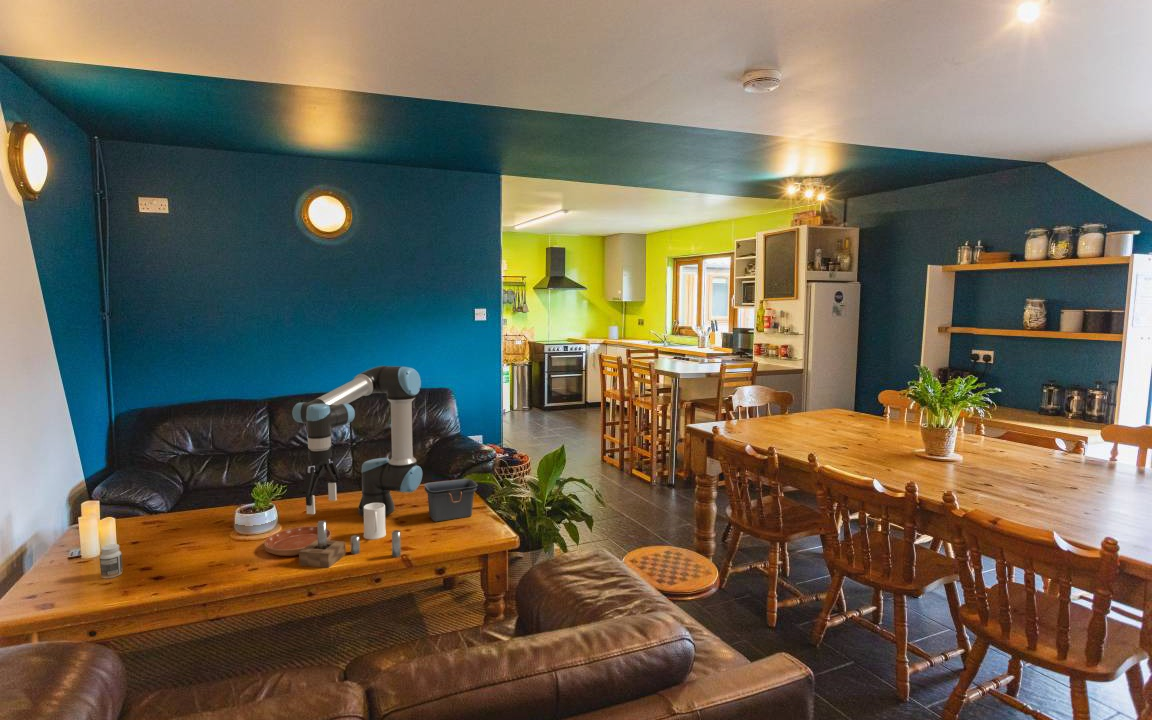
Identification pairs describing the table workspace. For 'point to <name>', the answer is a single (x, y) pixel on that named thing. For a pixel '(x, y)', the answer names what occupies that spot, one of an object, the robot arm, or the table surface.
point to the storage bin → (450, 499)
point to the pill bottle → (111, 561)
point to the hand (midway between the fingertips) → (322, 506)
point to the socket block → (322, 554)
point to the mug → (374, 521)
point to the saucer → (292, 540)
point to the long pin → (322, 534)
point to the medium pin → (396, 543)
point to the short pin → (355, 544)
